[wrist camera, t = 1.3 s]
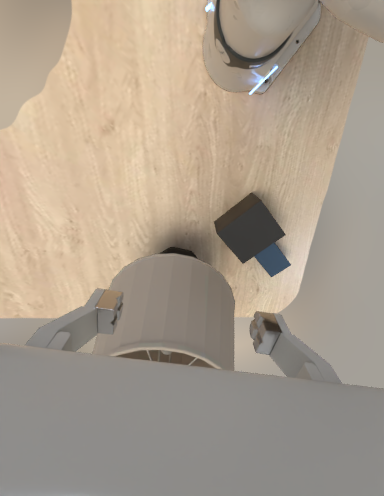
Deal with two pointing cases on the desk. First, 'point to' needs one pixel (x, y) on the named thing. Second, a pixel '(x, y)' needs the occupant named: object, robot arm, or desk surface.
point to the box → (272, 260)
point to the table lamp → (173, 312)
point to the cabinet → (248, 228)
